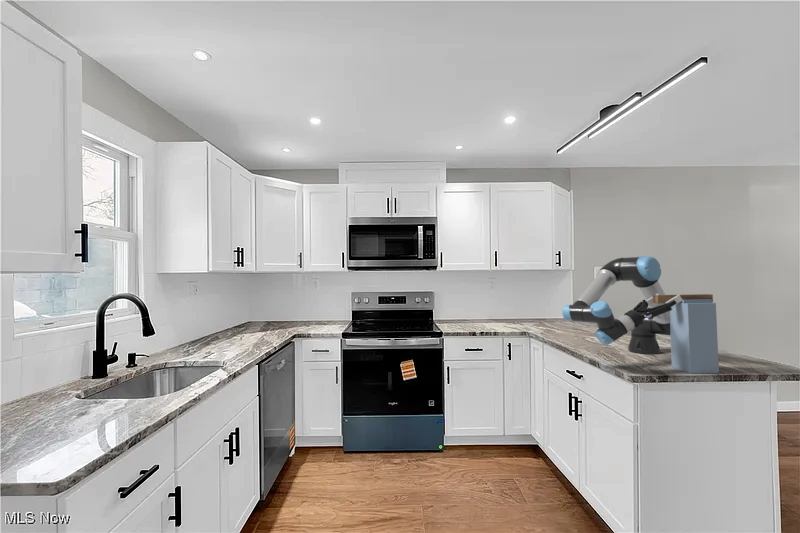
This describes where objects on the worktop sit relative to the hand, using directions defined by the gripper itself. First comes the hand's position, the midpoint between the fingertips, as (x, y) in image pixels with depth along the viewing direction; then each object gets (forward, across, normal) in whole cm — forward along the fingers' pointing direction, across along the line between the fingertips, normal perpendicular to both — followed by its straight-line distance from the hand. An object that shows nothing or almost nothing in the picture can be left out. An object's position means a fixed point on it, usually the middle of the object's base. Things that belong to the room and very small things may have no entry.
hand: (670, 296), depth 174 cm
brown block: (+3, 0, -5) cm, 6 cm away
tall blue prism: (-8, 0, -33) cm, 34 cm away
